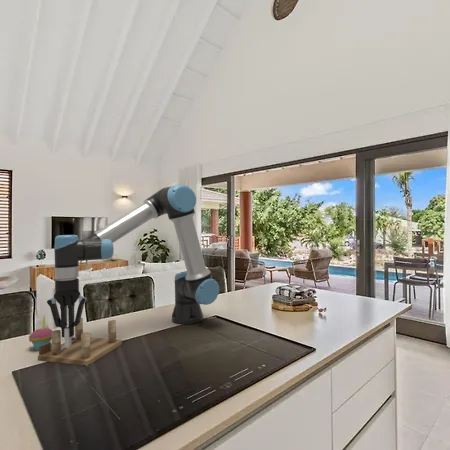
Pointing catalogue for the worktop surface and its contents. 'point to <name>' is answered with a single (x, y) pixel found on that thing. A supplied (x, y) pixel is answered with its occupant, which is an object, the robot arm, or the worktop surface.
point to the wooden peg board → (82, 347)
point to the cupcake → (41, 336)
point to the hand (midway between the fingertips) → (68, 346)
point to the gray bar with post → (58, 342)
